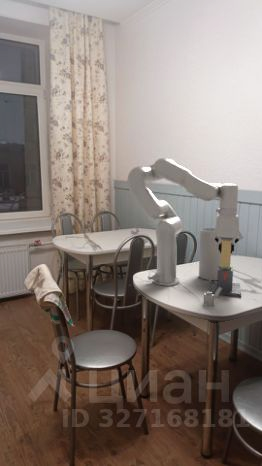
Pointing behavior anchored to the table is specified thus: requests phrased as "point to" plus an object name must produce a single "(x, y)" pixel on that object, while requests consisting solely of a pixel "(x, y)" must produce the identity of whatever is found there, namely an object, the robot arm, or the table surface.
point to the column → (226, 253)
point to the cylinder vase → (208, 255)
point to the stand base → (225, 283)
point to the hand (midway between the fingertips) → (226, 252)
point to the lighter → (211, 297)
